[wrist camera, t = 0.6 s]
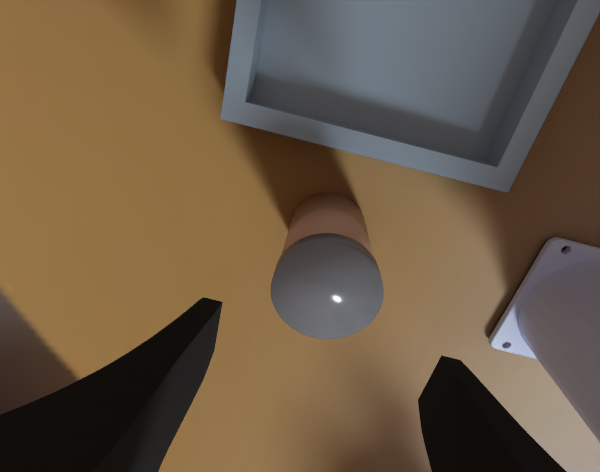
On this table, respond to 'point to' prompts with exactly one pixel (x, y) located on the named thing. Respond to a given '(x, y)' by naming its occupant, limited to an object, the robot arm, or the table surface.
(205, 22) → the table surface
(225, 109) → the tray
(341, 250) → the shaker
